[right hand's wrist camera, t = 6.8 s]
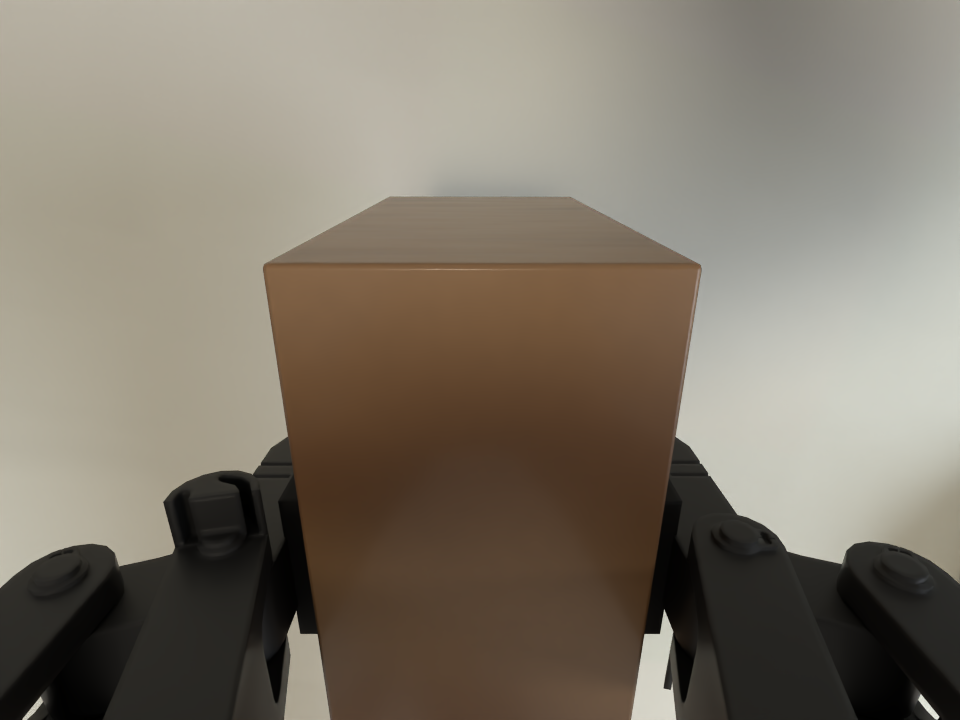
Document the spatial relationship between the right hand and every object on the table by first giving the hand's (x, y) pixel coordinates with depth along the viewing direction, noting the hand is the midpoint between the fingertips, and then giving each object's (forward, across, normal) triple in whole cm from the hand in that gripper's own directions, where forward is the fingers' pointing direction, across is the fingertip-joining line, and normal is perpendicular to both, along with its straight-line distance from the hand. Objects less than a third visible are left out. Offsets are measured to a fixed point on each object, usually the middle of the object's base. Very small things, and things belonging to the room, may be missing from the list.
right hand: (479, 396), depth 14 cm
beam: (+1, 0, -20) cm, 21 cm away
